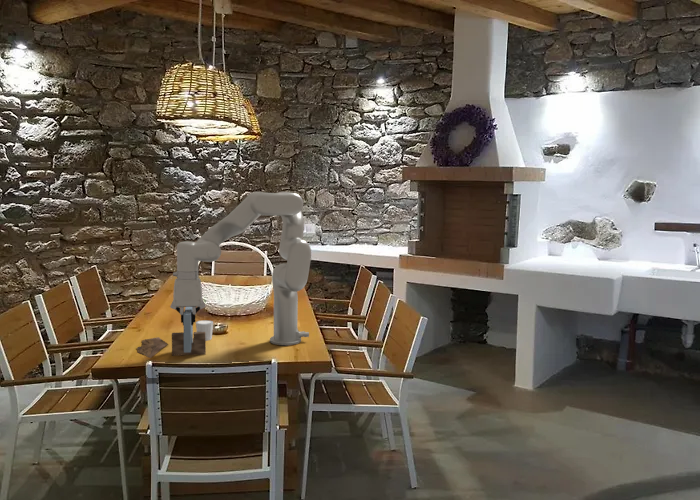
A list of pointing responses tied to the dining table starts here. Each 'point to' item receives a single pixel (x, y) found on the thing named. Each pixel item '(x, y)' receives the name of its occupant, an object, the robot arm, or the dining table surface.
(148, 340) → the wooden fragment
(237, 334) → the dining table surface
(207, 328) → the white topped beige cylinder
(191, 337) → the blue-grey notched panel
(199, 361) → the dining table surface
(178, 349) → the wood grain block
